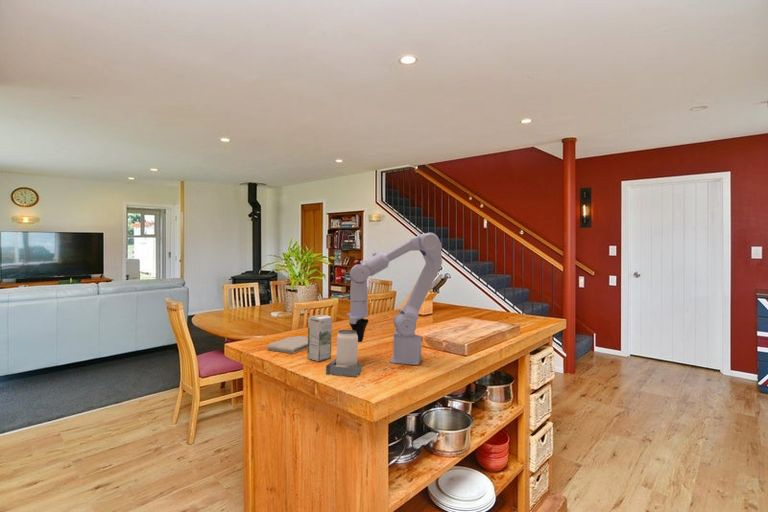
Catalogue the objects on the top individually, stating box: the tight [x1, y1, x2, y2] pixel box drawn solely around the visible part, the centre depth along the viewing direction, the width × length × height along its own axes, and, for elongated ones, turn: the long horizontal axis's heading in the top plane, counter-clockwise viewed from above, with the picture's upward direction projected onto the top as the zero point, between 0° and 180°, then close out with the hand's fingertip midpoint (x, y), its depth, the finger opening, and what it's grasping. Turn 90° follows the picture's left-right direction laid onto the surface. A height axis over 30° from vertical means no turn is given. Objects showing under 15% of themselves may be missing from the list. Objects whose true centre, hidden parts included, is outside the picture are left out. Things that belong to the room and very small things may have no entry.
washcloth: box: [266, 335, 308, 355], centre depth 148 cm, size 12×18×3 cm, turn 156°
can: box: [335, 329, 359, 367], centre depth 121 cm, size 6×6×12 cm
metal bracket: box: [325, 358, 363, 378], centre depth 125 cm, size 9×20×3 cm, turn 166°
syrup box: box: [306, 314, 333, 362], centre depth 133 cm, size 6×6×14 cm
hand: (358, 341), depth 130 cm, fingers closed
